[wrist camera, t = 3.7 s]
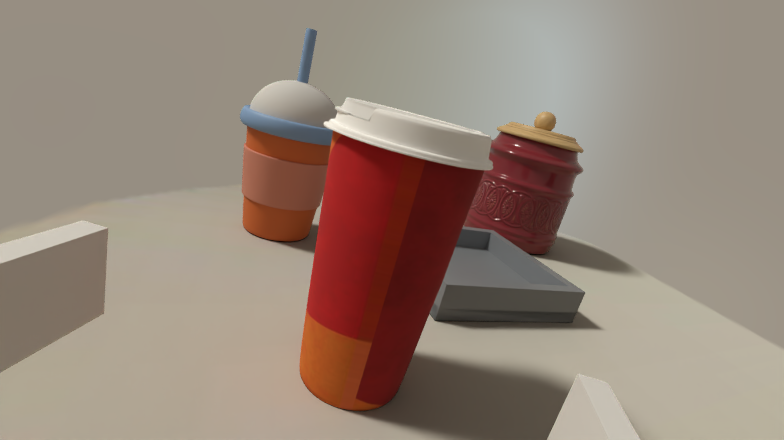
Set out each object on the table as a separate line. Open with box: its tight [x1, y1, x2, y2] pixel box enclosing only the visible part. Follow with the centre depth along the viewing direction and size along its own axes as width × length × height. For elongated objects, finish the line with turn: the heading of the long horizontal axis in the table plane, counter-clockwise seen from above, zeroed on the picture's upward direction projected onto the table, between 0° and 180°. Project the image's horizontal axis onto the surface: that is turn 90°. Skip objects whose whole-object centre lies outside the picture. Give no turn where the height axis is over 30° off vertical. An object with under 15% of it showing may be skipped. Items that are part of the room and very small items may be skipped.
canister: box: [464, 112, 583, 254], centre depth 55 cm, size 13×13×18 cm
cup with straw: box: [240, 28, 337, 241], centre depth 36 cm, size 9×9×18 cm
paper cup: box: [300, 97, 493, 411], centre depth 20 cm, size 8×8×14 cm
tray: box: [430, 226, 585, 322], centre depth 38 cm, size 14×14×3 cm
